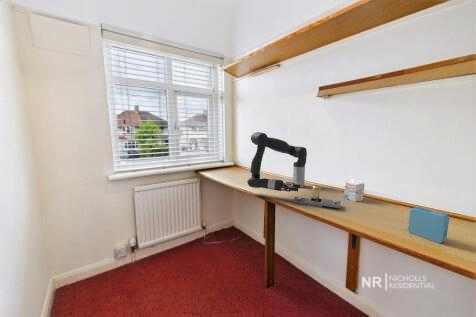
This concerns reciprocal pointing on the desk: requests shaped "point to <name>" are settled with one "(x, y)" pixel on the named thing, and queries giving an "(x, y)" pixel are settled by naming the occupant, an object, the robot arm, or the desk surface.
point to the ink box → (354, 190)
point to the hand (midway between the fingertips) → (299, 188)
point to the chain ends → (317, 204)
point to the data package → (428, 224)
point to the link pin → (316, 192)
